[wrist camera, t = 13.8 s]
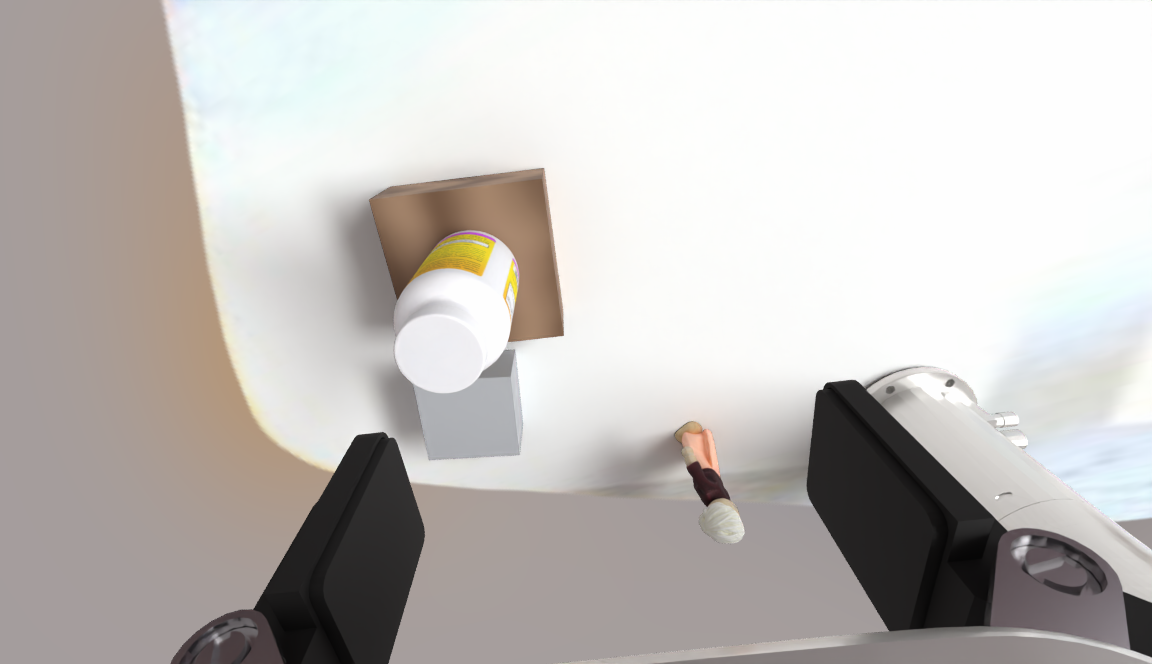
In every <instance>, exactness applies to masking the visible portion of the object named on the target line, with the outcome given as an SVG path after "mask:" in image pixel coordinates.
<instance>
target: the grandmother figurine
mask: <svg viewBox="0 0 1152 664" xmlns="http://www.w3.org/2000/svg"><path fill="white" fill-rule="evenodd" d="M675 438H676V439H677V441H679V442H680V443H682V445H683V447H684V448H683V449H682V455H683V457H684V458H685V463H686V465H687V470H688V472H689V473H690V475H691V476H692V477H693V483H694V488H695V490H696V491H697V493H698V495H699V496H700V498H701V500H702V502H703V503H704V504H705V505H706V506H707V508H706V509H704V510H703V513H702V514H701V515H700V517H699V525H700V526H701V528H702V530H703V532H704V533H705V534H707V535H708V536H710V537H711V538H712V539H714V540H715V541H716V542H718V543H728V544H729V543H730V544H732V543H737V542H739V541H740V540H741V539H742V537H743V536H744V534H745V531H744V526H743V523H742V521H741V519H740V516H739V511H738V509H737V507H736V505H735V504H734V503H733V502H731V501H730V497H729V495H728V492H727V491H726V489H725V488H724V486H723V483H722V481H721V478H720V472H719V466H718V460H717V455H716V449H715V444H714V440H713V436H712V433H711V431H710V430H709V429H705V430H704V431H703V432H702V427H701V425H700V424H699V423H697V422H693V421H692V422H689V423H687V424H685V425H684V426H683V427H682V428H680V429H679V430H678V431H677V432H676V433H675Z"/></svg>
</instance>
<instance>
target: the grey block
mask: <svg viewBox="0 0 1152 664" xmlns="http://www.w3.org/2000/svg"><path fill="white" fill-rule="evenodd" d="M413 386H414V391H415V396H416V401H417V405H418V410H419V415H420V420H421V424H422V429H423V434H424V439H425V443H426V448H427V453H428V458H429V460H440V459H458V458H476V457H494V456H512V455H520V448H521V438H522V429H523V417H522V408H521V399H520V389H519V380H518V371H517V362H516V352H515V350H504V351H503V353H502V354H501V356H500V357H499V358H498V359H497V360H496V361H495V362H494V363H493V364H492V365H491V366H489V367H488V368H487V369H485V370H483V371H482V373H481V374H480V376H479V377H478V379H477V380H476V381H475V382H474V383H473V384H471V385H470V386H469V387H467V388H465V389H463V390H460V391H457V392H453V393H434V392H430V391H427V390H424V389H421V388H419V387H417V386H416V385H414V384H413Z"/></svg>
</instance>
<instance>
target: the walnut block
mask: <svg viewBox="0 0 1152 664" xmlns="http://www.w3.org/2000/svg"><path fill="white" fill-rule="evenodd" d="M369 202H370V205H371V209H372V212H373V216H374V219H375V223H376V226H377V230H378V233H379V237H380V241H381V244H382V248H383V251H384V255H385V258H386V262H387V265H388V269H389V272H390V276H391V279H392V283H393V287H394V290H395V294H396V297H397V301H398V299H399V297H400V295H401V293H402V292H403V290H404V289H405V287H406V286H407V285H408V283H409V282H410V280H411V279H412V278H413V276H414V275H415V273H416V272H417V271H418V269H419V268H420V266H421V265H422V264H423V262H424V261H425V259H426V258H427V257H428V255H429V254H430V253H431V251H432V250H433V249H434V247H435V246H436V245H437V244H438V243H439V242H440V241H441V240H443V239H444V238H445V237H447V236H449V235H451V234H453V233H456V232H460V231H466V230H475V231H481V232H485V233H488V234H490V235H492V236H494V237H496V238H498V239H499V240H500V241H502V242H503V243H504V244H505V245H506V246H507V247H508V248H509V250H510V251H511V252H512V254H513V256H514V258H515V260H516V262H517V265H518V270H519V286H518V291H517V297H516V302H515V307H514V313H513V318H512V324H511V330H510V335H509V339H508V342H513V341H522V340H531V339H539V338H548V337H557V336H564V327H563V306H562V298H561V291H560V283H559V276H558V268H557V261H556V253H555V246H554V239H553V231H552V224H551V216H550V209H549V201H548V194H547V186H546V179H545V171H544V168H541V169H533V170H524V171H516V172H508V173H500V174H492V175H483V176H475V177H467V178H459V179H450V180H442V181H434V182H426V183H417V184H409V185H401V186H393V187H389V188H387V189H386V190H384V191H383V192H381V193H379V194H378V195H376V196H374V197H373V198H371V199H369Z"/></svg>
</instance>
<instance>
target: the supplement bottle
mask: <svg viewBox="0 0 1152 664" xmlns="http://www.w3.org/2000/svg"><path fill="white" fill-rule="evenodd" d="M518 286H519V270H518V265H517V262H516V260H515V258H514V256H513V254H512V252H511V251H510V250H509V248H508V247H507V246H506V245H505V244H504V243H503V242H502V241H500V240H499V239H498V238H496V237H494V236H492V235H490V234H488V233H485V232H481V231H475V230H466V231H460V232H456V233H453V234H451V235H449V236H447V237H445V238H444V239H443V240H441V241H440V242H439V243H438V244H437V245H436V246H435V247H434V249H433V250H432V251H431V253H430V254H429V255H428V257H427V258H426V259H425V261H424V262H423V264H422V265H421V266H420V268H419V269H418V271H417V272H416V273H415V275H414V276H413V278H412V279H411V280H410V282H409V283H408V285H407V286H406V287H405V289H404V290H403V292H402V293H401V295H400V297H399V299H398V301H397V303H396V306H395V310H394V317H393V323H394V331H395V335H396V339H395V343H394V357H395V361H396V363H397V366H398V368H399V369H400V371H401V372H402V374H403V375H404V376H405V377H406V378H407V379H408V380H409V381H410V382H411V383H413V384H414V385H416V386H417V387H419V388H421V389H424V390H427V391H430V392H434V393H453V392H457V391H460V390H463V389H465V388H467V387H469V386H470V385H471V384H473V383H474V382H475V381H476V380H477V379H478V377H479V376H480V374H481V373H482V371H483V370H485V369H487V368H488V367H489V366H491V365H492V364H493V363H494V362H495V361H496V360H497V359H498V358H499V357H500V356H501V354H502V353H503V351H504V349H505V347H506V345H507V342H508V339H509V335H510V330H511V324H512V318H513V313H514V307H515V302H516V297H517V291H518Z"/></svg>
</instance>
